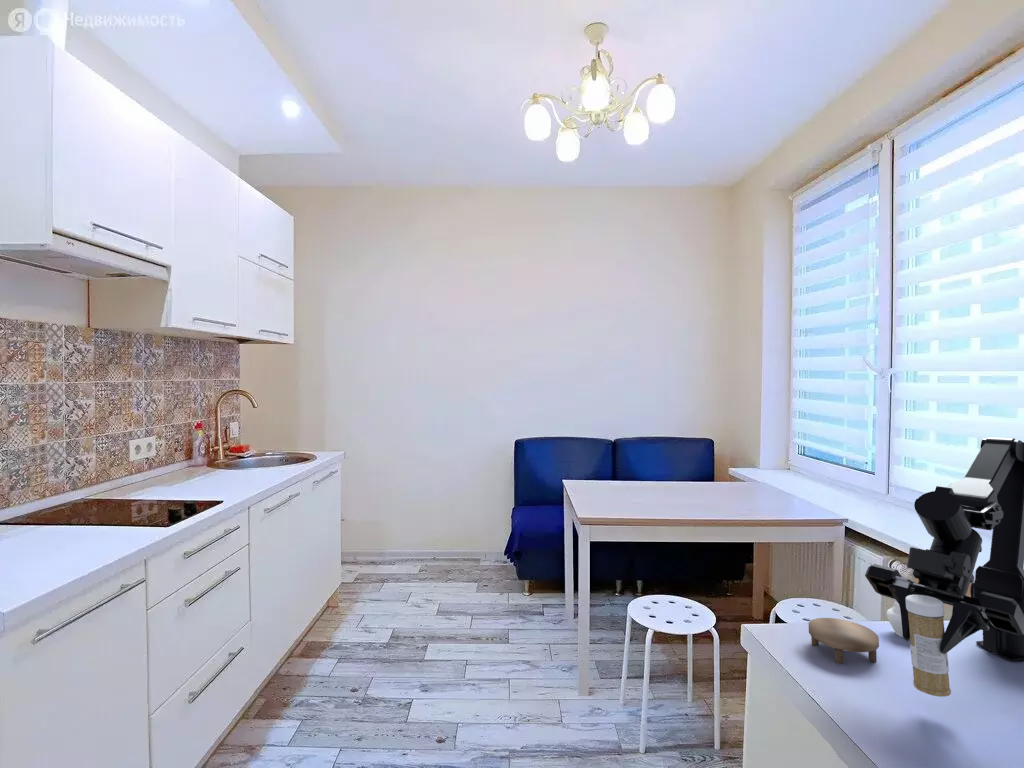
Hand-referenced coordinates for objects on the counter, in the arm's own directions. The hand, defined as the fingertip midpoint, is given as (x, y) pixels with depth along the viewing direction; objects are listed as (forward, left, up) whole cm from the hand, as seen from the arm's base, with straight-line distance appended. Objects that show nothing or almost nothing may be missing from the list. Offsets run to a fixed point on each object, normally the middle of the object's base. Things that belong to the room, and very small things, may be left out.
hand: (923, 645), depth 78 cm
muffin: (-18, -24, -11) cm, 32 cm away
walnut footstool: (-1, -19, -10) cm, 21 cm away
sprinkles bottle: (-1, 0, -7) cm, 7 cm away
